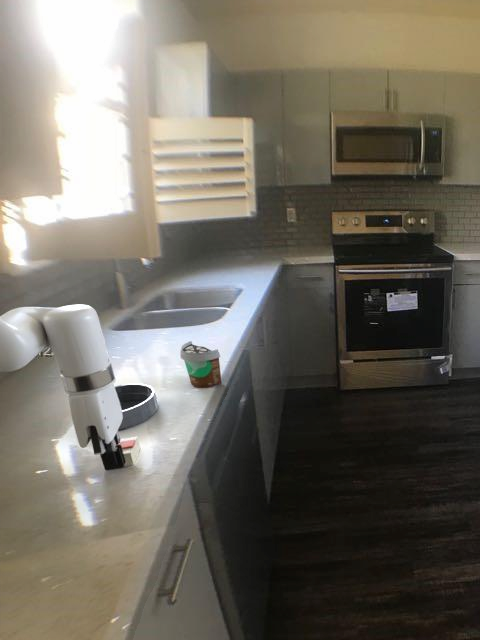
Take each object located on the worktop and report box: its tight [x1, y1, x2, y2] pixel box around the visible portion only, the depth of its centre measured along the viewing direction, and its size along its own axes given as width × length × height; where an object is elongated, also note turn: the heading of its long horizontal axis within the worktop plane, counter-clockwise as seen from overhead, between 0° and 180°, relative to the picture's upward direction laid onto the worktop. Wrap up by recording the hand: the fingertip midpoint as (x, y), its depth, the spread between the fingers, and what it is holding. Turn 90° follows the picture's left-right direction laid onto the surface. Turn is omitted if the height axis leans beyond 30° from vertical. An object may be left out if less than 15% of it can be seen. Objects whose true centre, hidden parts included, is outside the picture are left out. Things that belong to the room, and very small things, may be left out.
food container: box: [179, 340, 223, 389], centre depth 118 cm, size 12×6×10 cm, turn 55°
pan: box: [114, 383, 159, 431], centre depth 105 cm, size 15×15×4 cm
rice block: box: [118, 436, 141, 468], centre depth 89 cm, size 5×6×3 cm
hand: (115, 466), depth 85 cm, fingers closed
